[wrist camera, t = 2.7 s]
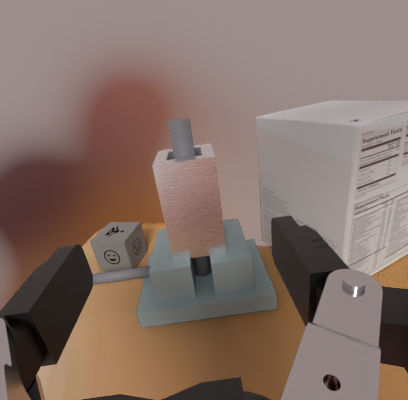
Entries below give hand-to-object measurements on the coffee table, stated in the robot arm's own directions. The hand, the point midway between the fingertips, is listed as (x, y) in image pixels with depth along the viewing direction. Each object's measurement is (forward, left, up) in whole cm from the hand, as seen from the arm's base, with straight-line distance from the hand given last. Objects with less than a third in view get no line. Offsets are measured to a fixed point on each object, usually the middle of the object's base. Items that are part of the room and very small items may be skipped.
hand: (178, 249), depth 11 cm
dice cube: (+11, -22, -16) cm, 30 cm away
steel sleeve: (0, -15, -10) cm, 18 cm away
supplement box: (-17, -19, -16) cm, 30 cm away
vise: (+3, -15, -16) cm, 22 cm away
